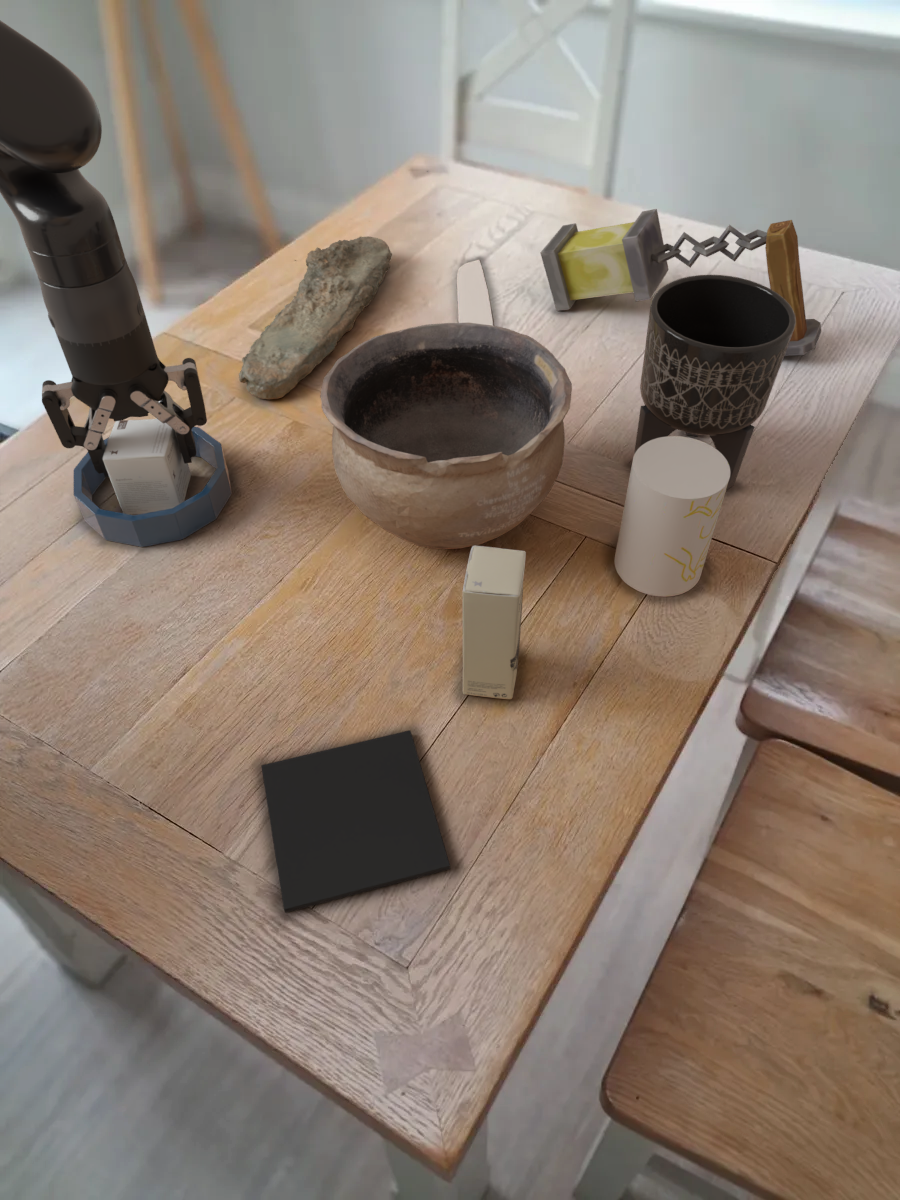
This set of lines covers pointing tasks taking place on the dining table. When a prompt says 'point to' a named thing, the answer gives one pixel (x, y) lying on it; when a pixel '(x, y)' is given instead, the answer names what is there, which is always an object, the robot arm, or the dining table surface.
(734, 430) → the planter
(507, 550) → the box
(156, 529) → the faceted polygonal ring
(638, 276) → the lantern
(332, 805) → the coaster
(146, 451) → the product carton
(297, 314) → the long grey stone
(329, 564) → the dining table surface
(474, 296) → the knife
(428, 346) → the ceramic bowl
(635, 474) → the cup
